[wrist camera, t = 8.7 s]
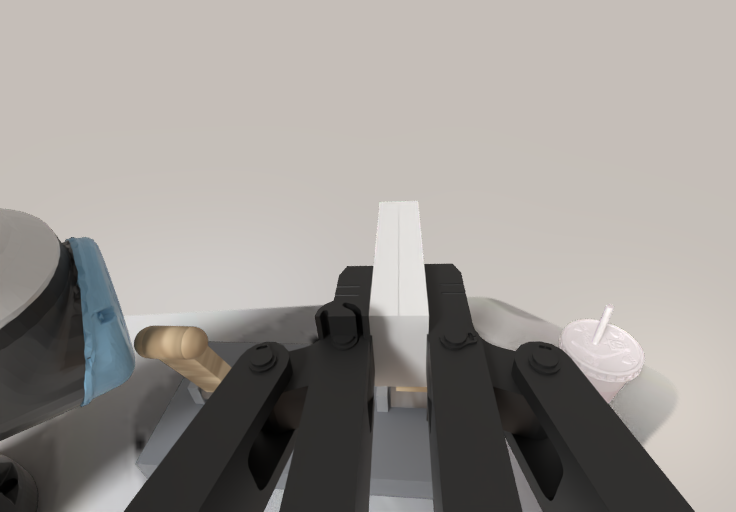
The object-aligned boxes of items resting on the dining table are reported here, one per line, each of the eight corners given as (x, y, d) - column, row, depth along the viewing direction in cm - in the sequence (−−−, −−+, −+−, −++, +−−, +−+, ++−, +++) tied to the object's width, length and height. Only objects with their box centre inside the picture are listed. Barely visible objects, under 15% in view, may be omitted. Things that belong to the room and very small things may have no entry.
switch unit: (148, 480, 35) (123, 448, 32) (211, 358, 47) (197, 326, 43) (485, 502, 32) (494, 470, 29) (465, 366, 44) (470, 332, 40)
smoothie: (534, 379, 42) (565, 278, 34) (599, 387, 40) (647, 284, 32) (545, 435, 37) (584, 332, 28) (619, 446, 35) (682, 341, 27)
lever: (202, 401, 38) (121, 350, 27) (209, 377, 40) (135, 319, 29) (255, 403, 38) (193, 353, 27) (260, 379, 39) (204, 321, 28)
